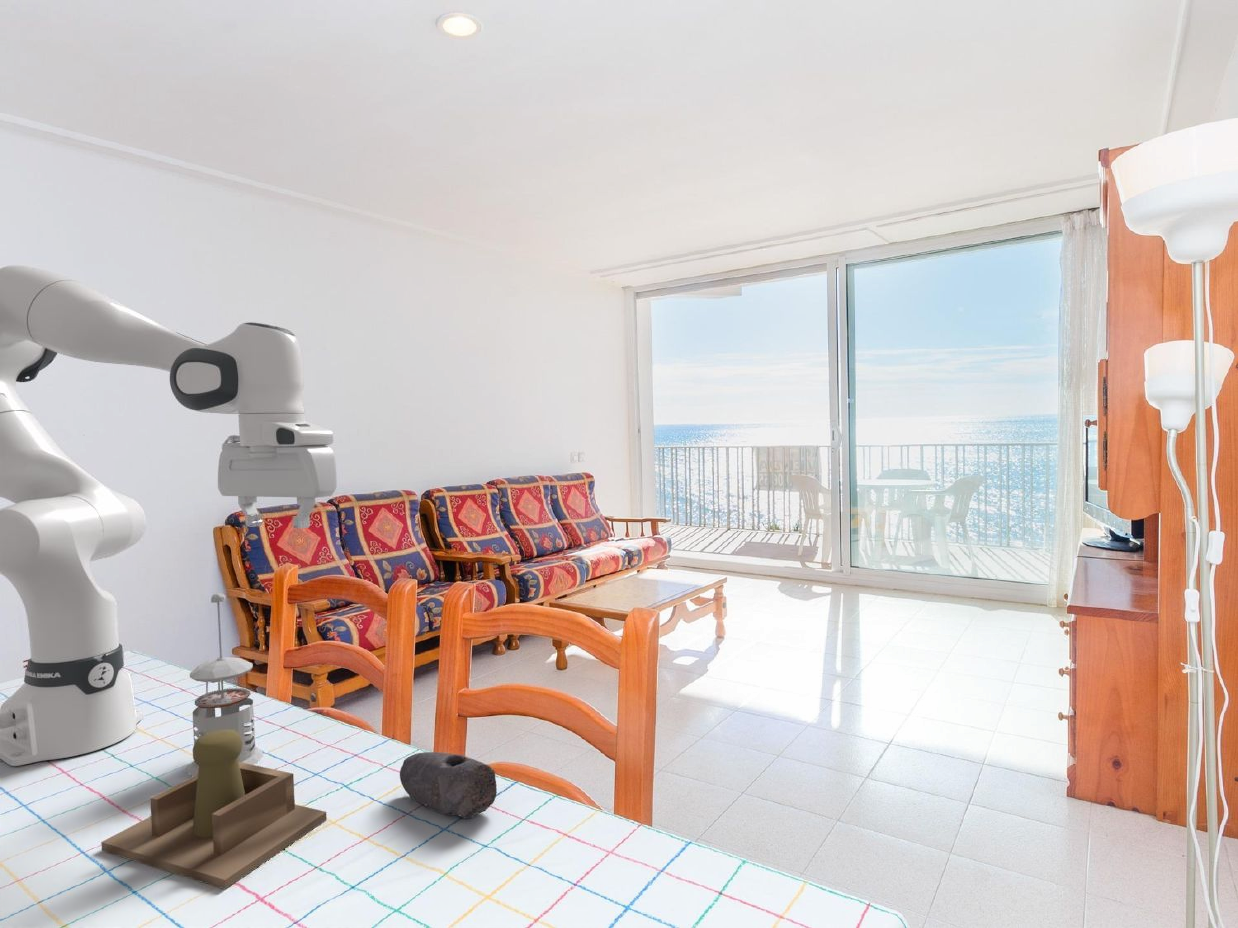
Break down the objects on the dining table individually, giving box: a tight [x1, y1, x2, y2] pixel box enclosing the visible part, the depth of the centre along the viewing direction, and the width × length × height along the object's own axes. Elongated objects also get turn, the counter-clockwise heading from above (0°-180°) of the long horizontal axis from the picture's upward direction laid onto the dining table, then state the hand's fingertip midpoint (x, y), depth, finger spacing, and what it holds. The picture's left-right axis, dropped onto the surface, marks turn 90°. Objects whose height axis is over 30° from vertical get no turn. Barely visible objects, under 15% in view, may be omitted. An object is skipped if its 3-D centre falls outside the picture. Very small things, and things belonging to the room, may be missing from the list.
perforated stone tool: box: [399, 751, 497, 820], centre depth 89 cm, size 15×5×7 cm, turn 58°
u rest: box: [100, 762, 327, 890], centre depth 84 cm, size 20×14×6 cm
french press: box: [187, 592, 264, 777], centre depth 103 cm, size 10×12×25 cm
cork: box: [192, 730, 245, 838], centre depth 84 cm, size 6×6×11 cm
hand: (277, 527), depth 104 cm, fingers open, 8 cm apart
